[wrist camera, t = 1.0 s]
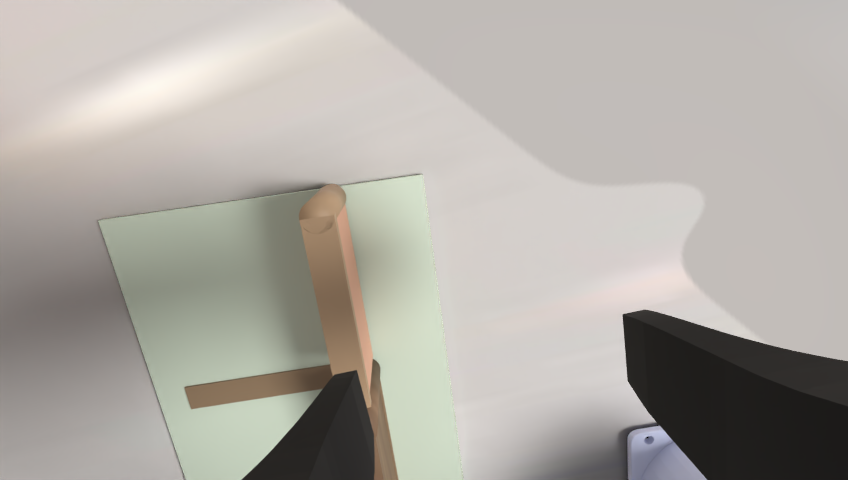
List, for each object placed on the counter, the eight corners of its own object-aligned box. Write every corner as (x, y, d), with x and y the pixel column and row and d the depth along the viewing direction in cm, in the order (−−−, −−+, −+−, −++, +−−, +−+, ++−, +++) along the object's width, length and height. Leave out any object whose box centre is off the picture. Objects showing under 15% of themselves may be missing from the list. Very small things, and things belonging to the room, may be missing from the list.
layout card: (422, 173, 20) (423, 174, 19) (465, 499, 24) (467, 505, 24) (102, 219, 19) (96, 221, 19) (210, 541, 24) (207, 548, 24)
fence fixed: (378, 355, 21) (374, 414, 17) (407, 516, 24) (410, 603, 20) (349, 359, 21) (337, 420, 17) (381, 520, 24) (378, 609, 20)
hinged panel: (343, 181, 19) (331, 198, 15) (375, 354, 21) (371, 407, 17) (315, 186, 19) (295, 202, 15) (349, 358, 21) (340, 411, 17)
